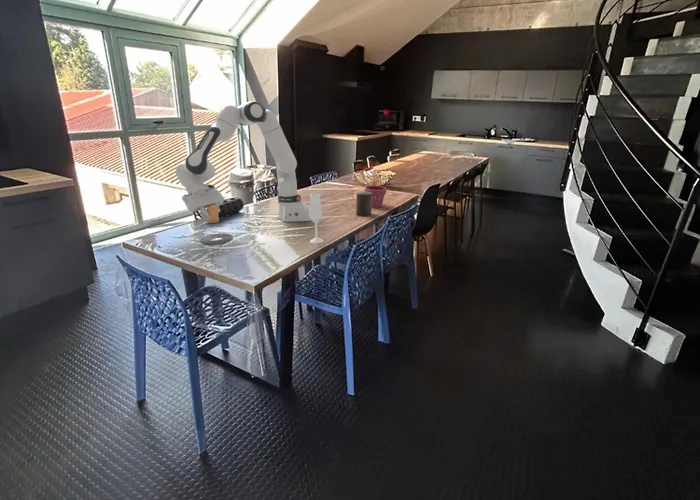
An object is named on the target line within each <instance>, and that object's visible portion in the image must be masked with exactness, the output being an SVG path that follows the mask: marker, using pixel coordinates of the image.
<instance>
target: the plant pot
mask: <svg viewBox="0 0 700 500" xmlns="http://www.w3.org/2000/svg"><path fill="white" fill-rule="evenodd" d="M364 191H366V192H371V193H372V208H373V209H381V207H382V206H383V204H384V203H383V202H384V198H385V195H386V194H387V188H386V187H385V186H382V185H367V186H365V187H364Z"/></svg>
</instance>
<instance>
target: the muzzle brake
mask: <svg viewBox="0 0 700 500" xmlns="http://www.w3.org/2000/svg"><path fill="white" fill-rule="evenodd" d="M244 206H245V205H244V202H243V200H242V198H240V197H239V196H238V197H237V196H234V197H232V198H229V199H224V202H223V203H222V204H220V205H219V209H220V212H218V216H219V221H220V219H222V218H225V217H226V218H227V217H231V216H232V215H235V214H238V213H240V211H243V209H244ZM205 210H206V211H207V208H205ZM200 216H201V218H202V220H203V221H204V222H207V223H209V220H208V216H206V215H205V213H203V212H201V211H200Z"/></svg>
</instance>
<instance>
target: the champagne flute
mask: <svg viewBox="0 0 700 500" xmlns="http://www.w3.org/2000/svg"><path fill="white" fill-rule="evenodd" d="M309 218H310V221H311V222H312V223H314V233H315V234H314V238H312V239H310V241H309V242H310V243H311V244H321V243H323V242H324V240H323V239H322V238H320V237H318V234H319V233H318V223H319V222H320V221H322V219H323V209H322V202H321V194H319V193H310V195H309Z"/></svg>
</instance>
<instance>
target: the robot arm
mask: <svg viewBox="0 0 700 500" xmlns="http://www.w3.org/2000/svg"><path fill="white" fill-rule="evenodd" d="M254 124H256V126H257V127H258V128H259V129H260V132H261V134H262V136H263V138H264V140H265V143H266V145H267V147H268V148H269V151H270V153H271V155H272V158H273V159H274V161H275V169H276V171H275V172H276V178H277V179H276V180H277V187H278V195H277V201H278V213H277V214H278V215H277V219H279V220H280V221H283V222H310V221H311V220H310V218H309V207H310V205H308V204H307V203H305V202H303V201H302V199H301V198H302V194H300V195H299V193H298V188H297V187H298V186H297V185H298V184H297V183H298V182H297V177H296V169H297V166H298V162H297V159H296V157H295V153H293V150H292V149H291V146H290V144H289V143H288V140H287V138H286V136H285V134H284V130H283V129H282V126H281V125H280V123H279V121H278V118H277V117H276V115H275V114H274V112H273V111H272V110H270V109H266V108H264V107H263V105H262V104H261V103H260V102H258V101H255V100H250V101H247V102H243V103H242V104H240V105H238V106H237V107H236V105H233V104H230V103H227V104H225V105H224V106H223V107H222V108H221V109H220V111H219V112H218V113H217V115H216V116H215V119H214V121H213V123H212V124H211V126H210V127H209V128H207V130H206V131H205V133H204V135H203V136H202V138H201V139H200V141H199V143H198V144H197V146H196V147H195V149H194V150H193V151H191V153H189V154H188V156H187V157H186V159H185V162H182V163H180V164H179V165H178V166H177V167H176V169H175V176H176V177H177V180H178V182H179V183H180V184H181V186H183V187H184V188H185V190H186V192H187V194H183V195H182V196H181V199H182V201H183V202H184V204H185V206H186V208H187V210H188V211H189V212H191V213H193V212H196V211H200V213H201V212H203V213H205V215H206V216H208V215H209V214H210V212H209V211H206V210H205V208H207V206H209V205H217V208H218V212H220V209H219V205H220V204H222V203H223V202H224V201H225V197H224V196H223V195H222V193H221V191H219V190H218V189H216V186H215V185H214V184H206V183H205V182H207V181H209V180H211V179H212V178H213V177H214V176H215V175H216V174H215V173H216V168H215V166H214V165H213V164H212V163H211V161H209V159H208V157H209V155H210V153H211V151H212V150H213V148H214V146H215V145H216V144H217V143H219V142H221V143H226V142H229V141H230V140H231V139H232V138H233V136H234V134H235V132H236V130H237V128H238V126H239V125H240V126H250V125H254Z"/></svg>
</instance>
